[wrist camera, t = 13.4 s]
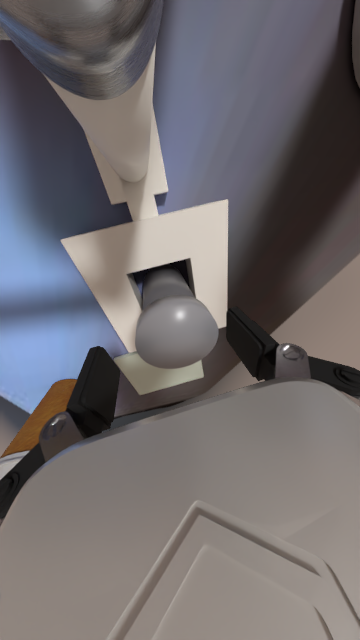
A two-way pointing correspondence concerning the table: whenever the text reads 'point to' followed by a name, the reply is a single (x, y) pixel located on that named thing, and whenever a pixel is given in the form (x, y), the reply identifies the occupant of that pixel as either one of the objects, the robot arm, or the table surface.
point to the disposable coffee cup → (36, 424)
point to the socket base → (142, 212)
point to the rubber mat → (155, 373)
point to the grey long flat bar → (85, 41)
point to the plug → (172, 322)
